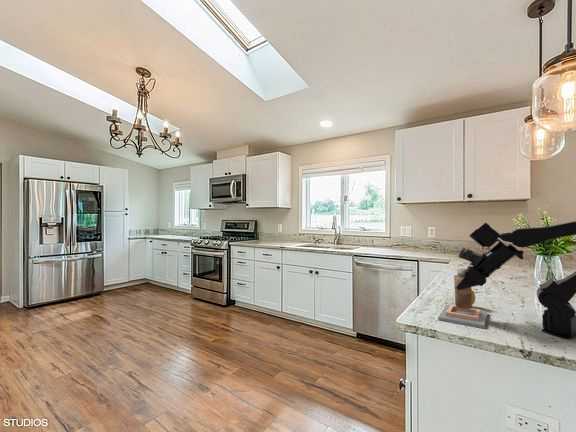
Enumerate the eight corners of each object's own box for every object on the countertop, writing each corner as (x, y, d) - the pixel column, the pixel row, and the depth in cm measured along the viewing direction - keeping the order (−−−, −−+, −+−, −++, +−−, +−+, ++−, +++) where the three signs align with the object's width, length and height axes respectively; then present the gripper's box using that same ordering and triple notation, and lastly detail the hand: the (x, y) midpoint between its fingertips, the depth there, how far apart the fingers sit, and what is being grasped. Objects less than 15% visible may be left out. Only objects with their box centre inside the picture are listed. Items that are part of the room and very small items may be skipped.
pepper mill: (475, 307, 96) (473, 269, 96) (465, 309, 94) (463, 271, 94) (461, 303, 101) (460, 267, 101) (452, 305, 99) (450, 269, 99)
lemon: (475, 310, 104) (475, 288, 104) (458, 308, 107) (457, 287, 107) (475, 306, 109) (474, 285, 109) (458, 304, 112) (458, 284, 112)
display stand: (487, 314, 100) (487, 307, 100) (484, 328, 87) (484, 321, 87) (446, 307, 108) (446, 301, 108) (438, 320, 95) (438, 313, 95)
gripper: (476, 238, 103) (444, 266, 109) (471, 242, 88) (434, 274, 95) (504, 261, 97) (468, 288, 104) (503, 269, 83) (462, 300, 90)
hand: (458, 287), depth 98 cm, fingers closed on pepper mill, 5 cm apart
